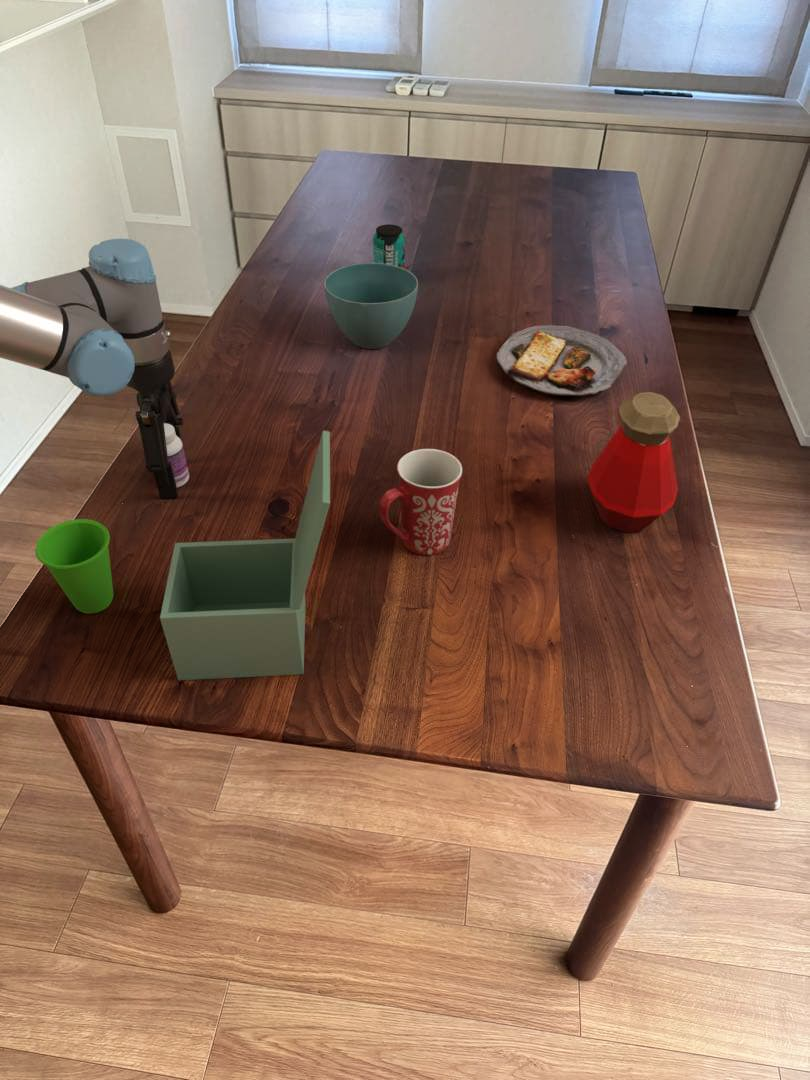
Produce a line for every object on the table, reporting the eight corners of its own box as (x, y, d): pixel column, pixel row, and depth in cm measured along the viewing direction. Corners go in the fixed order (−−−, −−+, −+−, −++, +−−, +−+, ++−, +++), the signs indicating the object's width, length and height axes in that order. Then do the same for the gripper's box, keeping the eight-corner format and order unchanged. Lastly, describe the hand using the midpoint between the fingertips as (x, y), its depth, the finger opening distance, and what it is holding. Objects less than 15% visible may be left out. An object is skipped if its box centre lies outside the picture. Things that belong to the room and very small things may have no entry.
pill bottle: (195, 472, 129) (185, 423, 123) (181, 492, 125) (170, 442, 119) (164, 467, 130) (153, 418, 124) (149, 487, 126) (137, 437, 120)
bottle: (671, 553, 117) (709, 443, 103) (579, 540, 119) (604, 431, 105) (665, 487, 128) (699, 380, 115) (581, 476, 130) (604, 369, 116)
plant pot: (309, 336, 162) (305, 279, 154) (376, 309, 171) (376, 254, 163) (366, 372, 153) (365, 313, 144) (434, 341, 162) (437, 284, 153)
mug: (434, 511, 123) (437, 440, 114) (468, 545, 118) (475, 473, 108) (364, 540, 118) (362, 469, 109) (396, 577, 113) (397, 505, 103)
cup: (54, 629, 105) (28, 570, 97) (65, 580, 111) (41, 521, 104) (125, 621, 106) (104, 563, 98) (131, 573, 112) (112, 515, 105)
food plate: (593, 417, 143) (597, 400, 140) (477, 381, 151) (478, 364, 149) (636, 356, 159) (640, 340, 156) (529, 326, 167) (531, 310, 164)
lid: (322, 502, 81) (330, 503, 81) (322, 430, 90) (329, 431, 90) (292, 609, 91) (299, 610, 92) (295, 535, 101) (301, 535, 101)
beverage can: (409, 278, 182) (410, 226, 174) (396, 291, 178) (397, 238, 170) (381, 272, 184) (381, 220, 176) (368, 284, 180) (367, 232, 172)
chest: (178, 680, 99) (159, 618, 91) (190, 605, 108) (174, 542, 100) (303, 674, 100) (296, 612, 92) (305, 600, 109) (299, 538, 101)
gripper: (158, 393, 105) (188, 521, 120) (180, 316, 120) (204, 438, 136) (100, 395, 104) (138, 523, 120) (129, 318, 120) (159, 440, 135)
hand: (173, 478), depth 128 cm, fingers open, 8 cm apart
